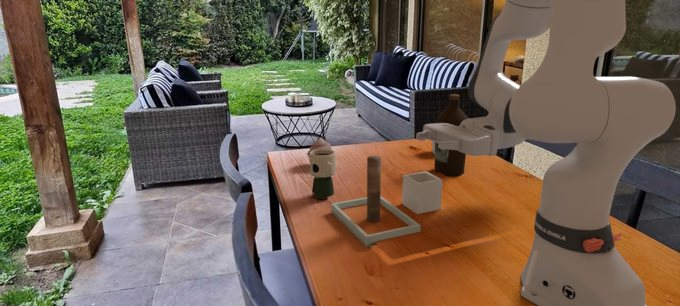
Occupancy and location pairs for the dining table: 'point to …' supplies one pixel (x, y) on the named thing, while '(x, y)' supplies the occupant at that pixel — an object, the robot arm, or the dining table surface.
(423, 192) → the white square sleeve
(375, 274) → the dining table surface
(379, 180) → the walnut pin
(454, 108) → the olive oil
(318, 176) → the character mug
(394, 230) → the sage tray
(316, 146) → the cupcake
